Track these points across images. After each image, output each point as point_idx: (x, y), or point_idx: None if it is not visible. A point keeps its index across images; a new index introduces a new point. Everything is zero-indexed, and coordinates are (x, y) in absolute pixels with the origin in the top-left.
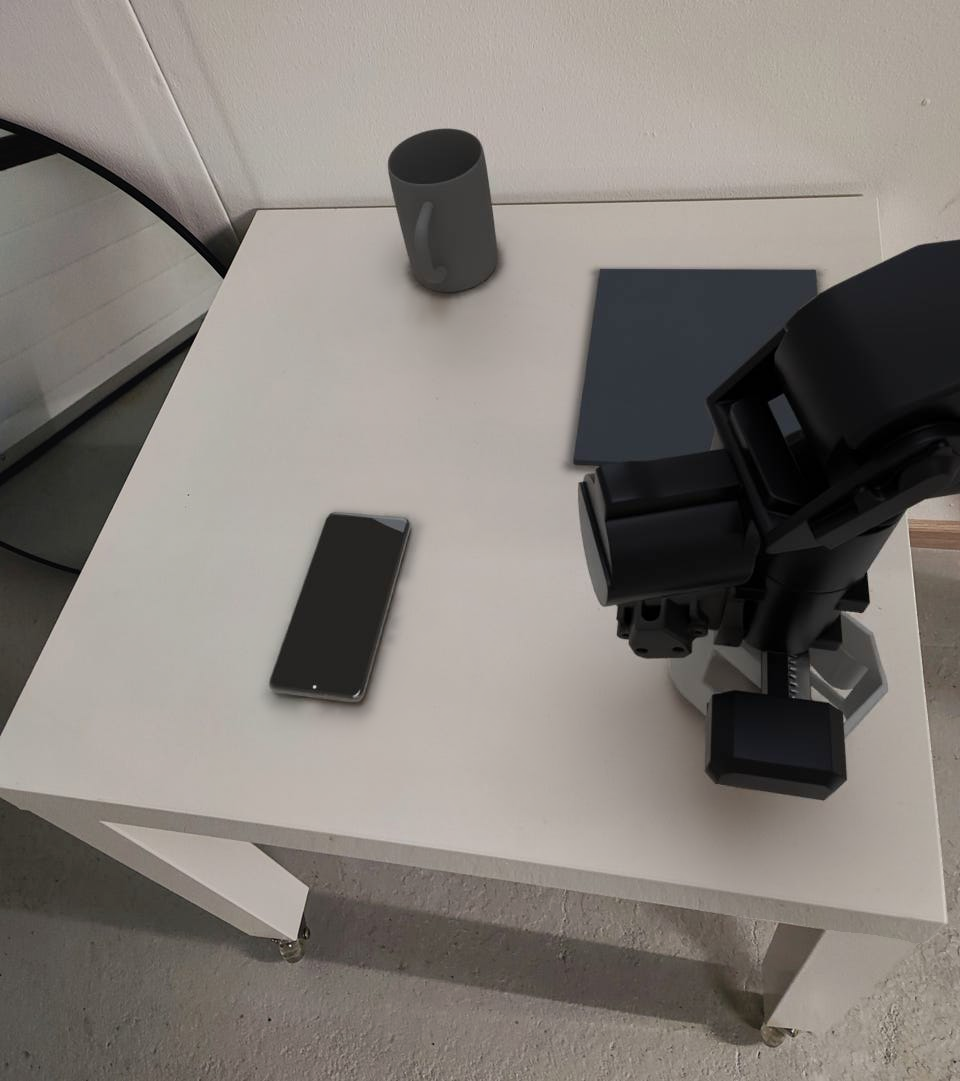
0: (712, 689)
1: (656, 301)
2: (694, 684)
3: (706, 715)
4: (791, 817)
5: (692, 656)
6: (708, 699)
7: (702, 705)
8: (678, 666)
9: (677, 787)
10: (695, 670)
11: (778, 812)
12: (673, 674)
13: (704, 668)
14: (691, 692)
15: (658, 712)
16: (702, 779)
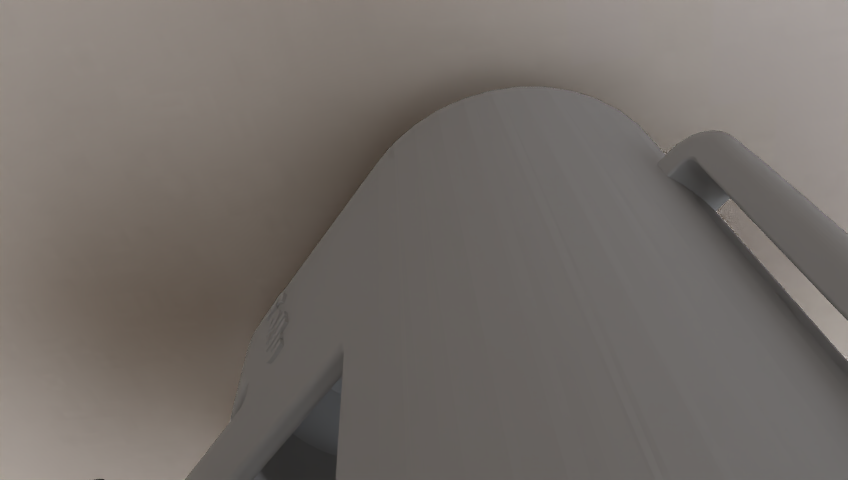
0: (318, 387)
1: None
2: (359, 275)
3: (316, 249)
4: (134, 429)
5: (401, 415)
6: (314, 321)
7: (329, 254)
8: (442, 193)
9: (71, 154)
10: (370, 353)
11: (133, 405)
12: (445, 128)
13: (339, 469)
14: (361, 223)
15: (325, 49)
16: (135, 223)
